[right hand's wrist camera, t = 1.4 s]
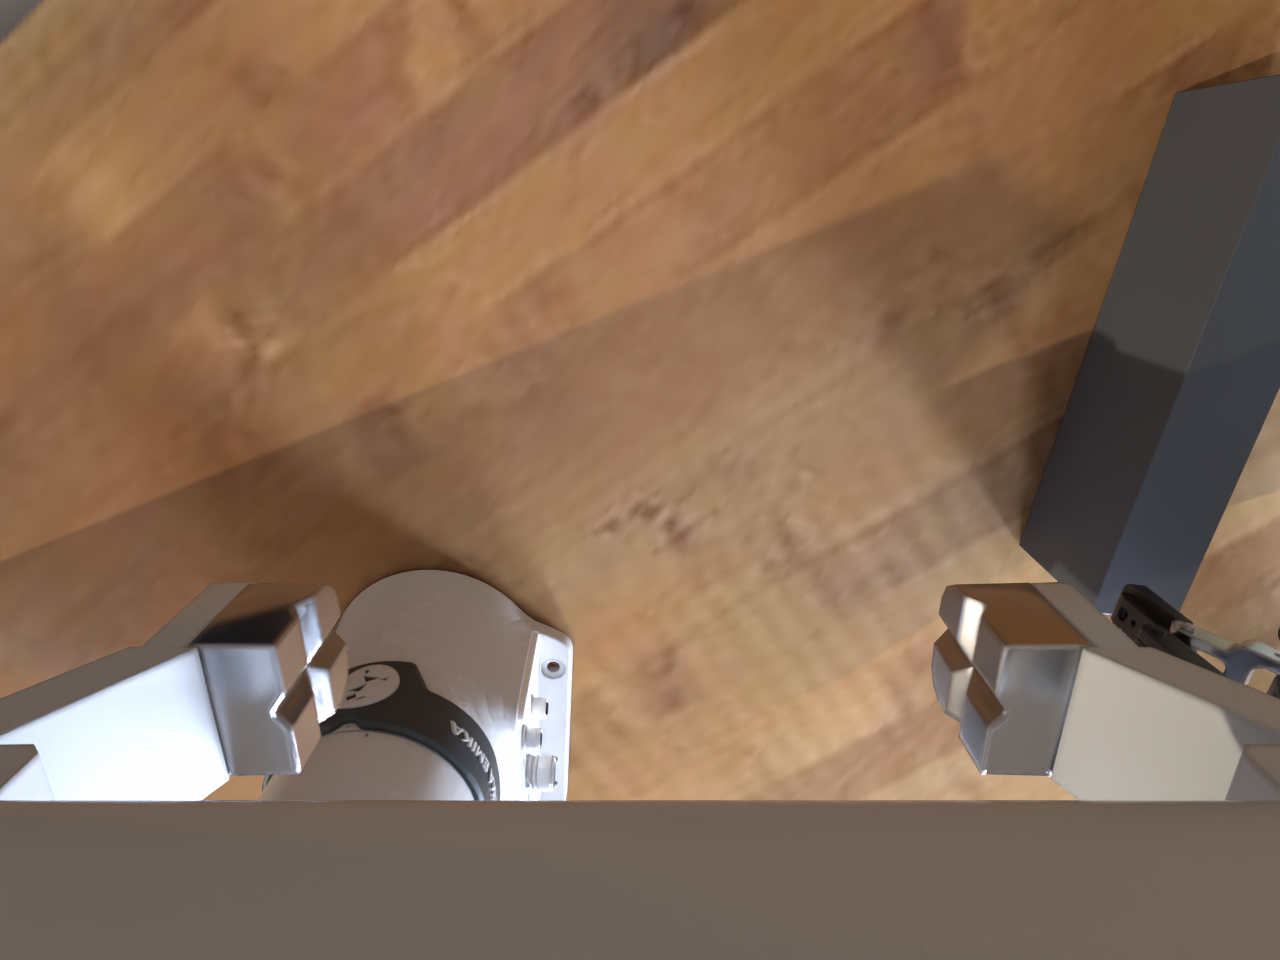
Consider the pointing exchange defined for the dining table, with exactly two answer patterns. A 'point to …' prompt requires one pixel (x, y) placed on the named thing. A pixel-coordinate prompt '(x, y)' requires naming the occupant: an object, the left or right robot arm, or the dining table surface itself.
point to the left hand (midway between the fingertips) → (1209, 610)
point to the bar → (1173, 359)
